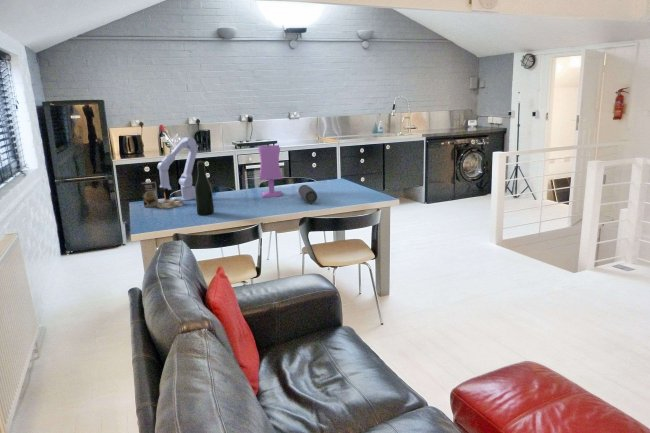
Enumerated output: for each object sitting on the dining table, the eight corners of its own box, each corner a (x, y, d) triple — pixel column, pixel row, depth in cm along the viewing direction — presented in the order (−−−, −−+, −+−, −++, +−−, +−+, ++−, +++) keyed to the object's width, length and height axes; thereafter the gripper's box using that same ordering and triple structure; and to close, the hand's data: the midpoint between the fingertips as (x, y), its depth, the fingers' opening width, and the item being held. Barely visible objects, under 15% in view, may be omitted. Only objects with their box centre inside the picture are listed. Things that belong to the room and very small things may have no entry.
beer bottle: (197, 216, 288) (191, 162, 279) (197, 212, 297) (191, 160, 289) (214, 214, 290) (209, 161, 282) (214, 210, 300) (209, 159, 291)
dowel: (168, 202, 330) (166, 188, 328) (170, 202, 328) (168, 188, 325) (164, 202, 328) (162, 188, 326) (166, 203, 326) (164, 189, 323)
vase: (283, 196, 335) (280, 147, 326) (261, 198, 333) (257, 148, 324) (281, 192, 350) (279, 145, 341) (260, 193, 348) (257, 146, 339)
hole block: (176, 203, 326) (176, 198, 325) (183, 205, 319) (182, 200, 318) (157, 206, 317) (156, 202, 317) (163, 209, 310) (162, 204, 309)
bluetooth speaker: (297, 198, 328) (297, 184, 325) (310, 197, 330) (310, 183, 327) (304, 205, 306) (303, 190, 304) (318, 204, 308) (317, 189, 306)
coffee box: (144, 207, 317) (140, 183, 312) (144, 205, 323) (141, 182, 318) (158, 206, 319) (155, 182, 315) (158, 204, 325) (155, 181, 321)
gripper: (154, 179, 327) (157, 198, 330) (163, 181, 316) (165, 201, 319) (164, 177, 331) (166, 196, 335) (173, 180, 321) (175, 199, 324)
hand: (167, 198), depth 327 cm, fingers closed on dowel, 3 cm apart
